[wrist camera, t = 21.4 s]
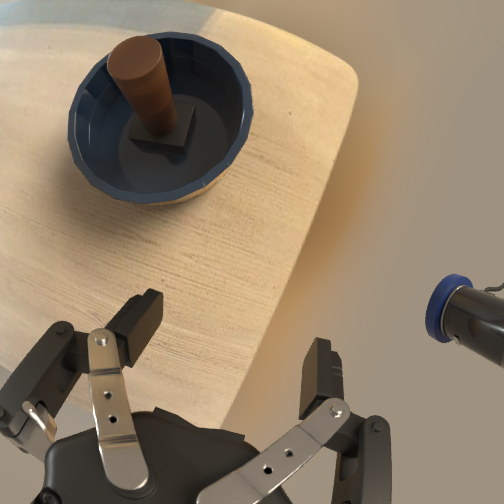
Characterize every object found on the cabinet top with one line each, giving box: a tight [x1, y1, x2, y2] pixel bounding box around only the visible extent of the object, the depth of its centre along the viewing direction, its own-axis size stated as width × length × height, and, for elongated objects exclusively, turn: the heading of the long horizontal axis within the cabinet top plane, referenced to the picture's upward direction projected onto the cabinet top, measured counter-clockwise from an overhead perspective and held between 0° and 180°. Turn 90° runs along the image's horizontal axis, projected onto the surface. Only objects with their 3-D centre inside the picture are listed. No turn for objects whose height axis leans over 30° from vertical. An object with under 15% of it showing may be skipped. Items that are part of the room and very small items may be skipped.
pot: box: [68, 32, 254, 206], centre depth 21 cm, size 14×14×7 cm
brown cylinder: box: [107, 36, 196, 154], centre depth 17 cm, size 5×4×14 cm
